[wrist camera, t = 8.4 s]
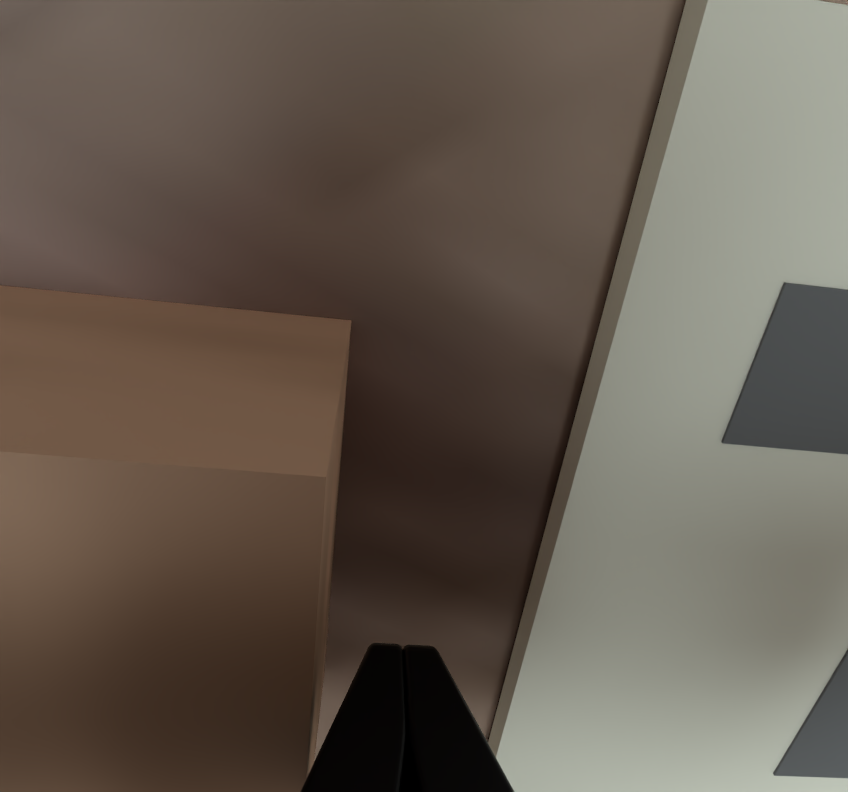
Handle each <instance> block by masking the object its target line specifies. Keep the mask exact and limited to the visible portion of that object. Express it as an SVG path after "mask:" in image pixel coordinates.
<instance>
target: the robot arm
mask: <svg viewBox="0 0 848 792" xmlns="http://www.w3.org/2000/svg"><path fill="white" fill-rule="evenodd" d="M300 792H514V790H513V788H512V786H511V785H510V783H509V781H508V779H507V777H506V775H505V774H504V772H503V770H502V768H501V766H500V764H499V762H498V761H497V759H496V757H495V755H494V753H493V751H492V750H491V748H490V746H489V744H488V742H487V740H486V739H485V737H484V735H483V733H482V731H481V729H480V728H479V726H478V724H477V722H476V720H475V718H474V717H473V715H472V713H471V711H470V709H469V707H468V706H467V704H466V702H465V700H464V698H463V696H462V695H461V693H460V691H459V689H458V687H457V685H456V683H455V682H454V680H453V678H452V676H451V674H450V672H449V671H448V669H447V667H446V665H445V663H444V661H443V660H442V658H441V656H440V654H439V652H438V651H437V650H436V648H434V647H433V646H423V645H406V646H405V647H404V648H403V650H402V647H401V646H400V645H398V644H386V643H373V644H371V645H370V646H369V648H368V650H367V652H366V654H365V656H364V658H363V660H362V662H361V664H360V666H359V669H358V671H357V673H356V675H355V677H354V679H353V681H352V683H351V685H350V688H349V690H348V692H347V694H346V696H345V698H344V700H343V702H342V705H341V707H340V709H339V711H338V713H337V715H336V717H335V719H334V721H333V724H332V726H331V728H330V730H329V732H328V734H327V736H326V738H325V741H324V743H323V745H322V747H321V749H320V751H319V753H318V755H317V758H316V760H315V762H314V764H313V766H312V768H311V770H310V772H309V774H308V777H307V779H306V781H305V783H304V785H303V787H302V789H301V791H300Z"/></svg>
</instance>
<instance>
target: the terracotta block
mask: <svg viewBox="0 0 848 792" xmlns="http://www.w3.org/2000/svg"><path fill="white" fill-rule="evenodd" d="M350 333H351V320H342V319H332V318H322V317H312V316H302V315H292V314H282V313H272V312H262V311H252V310H242V309H232V308H222V307H212V306H202V305H192V304H182V303H172V302H162V301H152V300H143V299H133V298H123V297H113V296H103V295H93V294H83V293H73V292H63V291H53V290H43V289H33V288H23V287H13V286H3V285H0V792H300V791H301V789H302V787H303V785H304V783H305V781H306V779H307V777H308V774H309V772H310V770H311V768H312V766H313V764H314V757H315V748H316V739H317V731H318V722H319V713H320V704H321V695H322V687H323V678H324V669H325V656H326V643H327V630H328V617H329V604H330V591H331V579H332V566H333V553H334V540H335V527H336V514H337V501H338V488H339V475H340V462H341V449H342V437H343V424H344V411H345V398H346V385H347V372H348V359H349V346H350Z"/></svg>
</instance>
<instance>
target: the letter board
mask: <svg viewBox="0 0 848 792" xmlns="http://www.w3.org/2000/svg"><path fill="white" fill-rule="evenodd" d="M488 744H489V746H490V748H491V750H492V751H493V753H494V755H495V757H496V759H497V761H498V762H499V764H500V766H501V768H502V770H503V772H504V774H505V775H506V777H507V779H508V781H509V783H510V785H511V786H512V788H513V790H514V792H848V5H844V4H837V3H831V2H825V1H819V0H686V3H685V6H684V10H683V14H682V18H681V21H680V25H679V29H678V33H677V36H676V40H675V44H674V48H673V51H672V55H671V59H670V63H669V66H668V70H667V74H666V78H665V81H664V85H663V89H662V93H661V96H660V100H659V104H658V108H657V111H656V115H655V119H654V123H653V126H652V130H651V134H650V137H649V141H648V145H647V149H646V152H645V156H644V160H643V164H642V167H641V171H640V175H639V179H638V182H637V186H636V190H635V194H634V197H633V201H632V205H631V209H630V212H629V216H628V220H627V224H626V227H625V231H624V235H623V239H622V242H621V246H620V250H619V254H618V257H617V261H616V265H615V269H614V272H613V276H612V280H611V284H610V287H609V291H608V295H607V299H606V302H605V306H604V310H603V314H602V317H601V321H600V325H599V329H598V332H597V336H596V340H595V344H594V347H593V351H592V355H591V359H590V362H589V366H588V370H587V374H586V377H585V381H584V385H583V389H582V392H581V396H580V400H579V404H578V407H577V411H576V415H575V419H574V422H573V426H572V430H571V434H570V437H569V441H568V445H567V449H566V452H565V456H564V460H563V464H562V467H561V471H560V475H559V479H558V482H557V486H556V490H555V494H554V497H553V501H552V505H551V509H550V512H549V516H548V520H547V524H546V527H545V531H544V535H543V538H542V542H541V546H540V550H539V553H538V557H537V561H536V565H535V568H534V572H533V576H532V580H531V583H530V587H529V591H528V595H527V598H526V602H525V606H524V610H523V613H522V617H521V621H520V625H519V628H518V632H517V636H516V640H515V643H514V647H513V651H512V655H511V658H510V662H509V666H508V670H507V673H506V677H505V681H504V685H503V688H502V692H501V696H500V700H499V703H498V707H497V711H496V715H495V718H494V722H493V726H492V730H491V733H490V737H489V741H488Z"/></svg>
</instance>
